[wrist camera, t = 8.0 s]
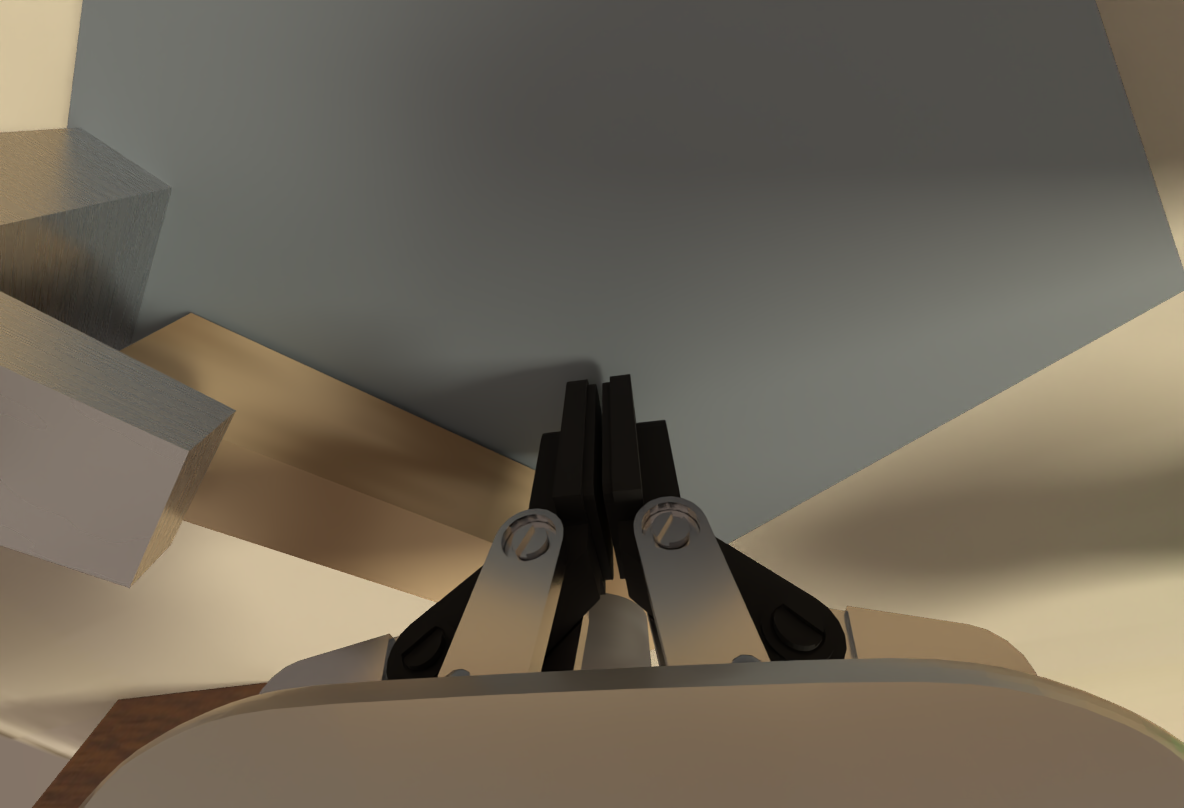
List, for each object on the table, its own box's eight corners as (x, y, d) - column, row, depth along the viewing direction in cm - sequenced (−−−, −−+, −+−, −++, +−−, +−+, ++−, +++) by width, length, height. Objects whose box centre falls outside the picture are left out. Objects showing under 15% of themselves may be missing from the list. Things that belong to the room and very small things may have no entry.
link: (698, 525, 15) (729, 662, 11) (613, 592, 17) (616, 720, 14) (193, 284, 10) (-32, 390, 6) (180, 427, 13) (14, 558, 9)
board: (548, 619, 22) (546, 644, 21) (69, 404, 14) (30, 428, 13) (1136, 270, 11) (1189, 287, 10) (432, -1525, 3) (359, -2244, 2)
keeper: (308, 401, 14) (129, 588, 8) (101, 288, 12) (-304, 445, 6) (375, 289, 11) (188, 451, 6) (135, 124, 9) (-450, 161, 4)
